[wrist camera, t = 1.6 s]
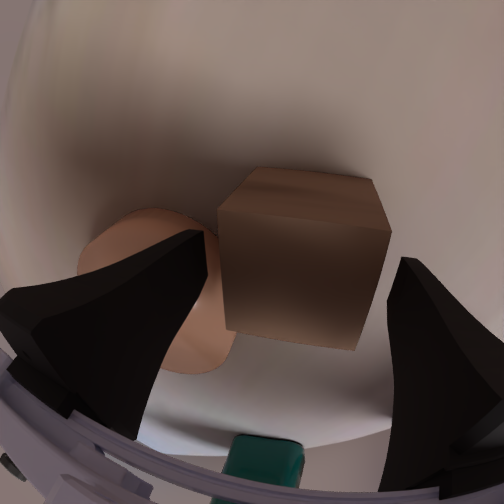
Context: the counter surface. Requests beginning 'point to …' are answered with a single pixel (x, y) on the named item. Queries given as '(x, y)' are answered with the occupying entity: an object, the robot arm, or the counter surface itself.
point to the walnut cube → (301, 256)
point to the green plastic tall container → (264, 462)
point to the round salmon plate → (206, 307)
